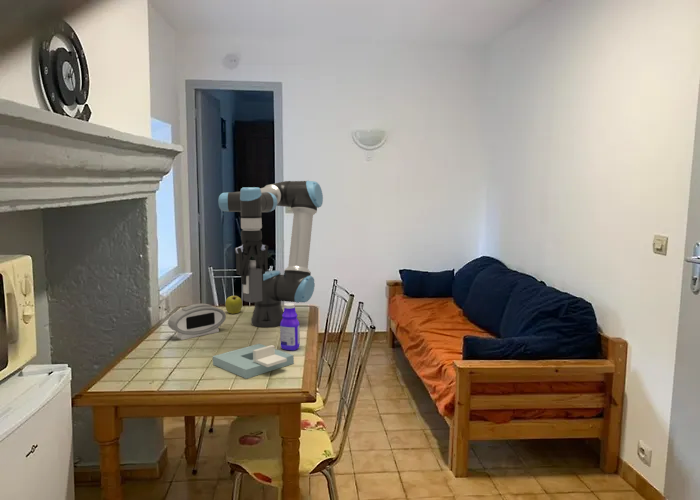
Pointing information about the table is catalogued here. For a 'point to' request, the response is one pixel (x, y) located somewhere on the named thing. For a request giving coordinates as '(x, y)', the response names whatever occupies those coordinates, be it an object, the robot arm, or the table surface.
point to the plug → (254, 283)
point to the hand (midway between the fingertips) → (252, 292)
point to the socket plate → (248, 361)
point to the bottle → (289, 328)
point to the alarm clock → (196, 320)
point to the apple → (233, 304)
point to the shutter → (267, 356)
